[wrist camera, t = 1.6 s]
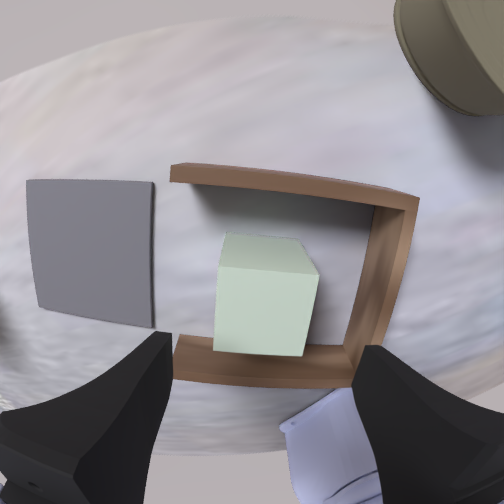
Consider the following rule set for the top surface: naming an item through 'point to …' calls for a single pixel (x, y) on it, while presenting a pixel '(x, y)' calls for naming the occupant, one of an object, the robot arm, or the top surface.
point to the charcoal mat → (92, 247)
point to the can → (456, 51)
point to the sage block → (263, 295)
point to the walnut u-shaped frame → (366, 302)
